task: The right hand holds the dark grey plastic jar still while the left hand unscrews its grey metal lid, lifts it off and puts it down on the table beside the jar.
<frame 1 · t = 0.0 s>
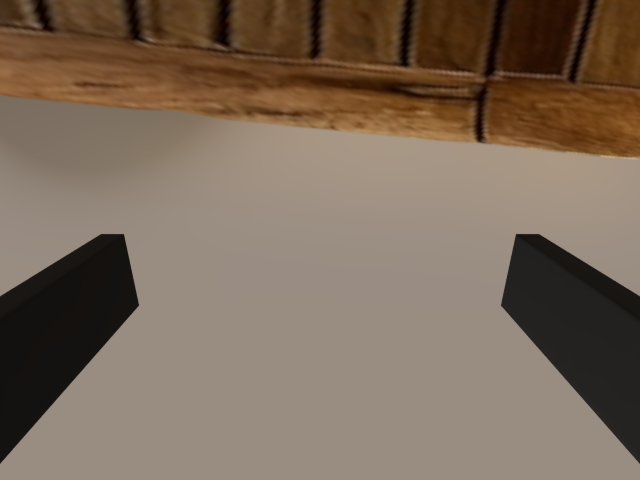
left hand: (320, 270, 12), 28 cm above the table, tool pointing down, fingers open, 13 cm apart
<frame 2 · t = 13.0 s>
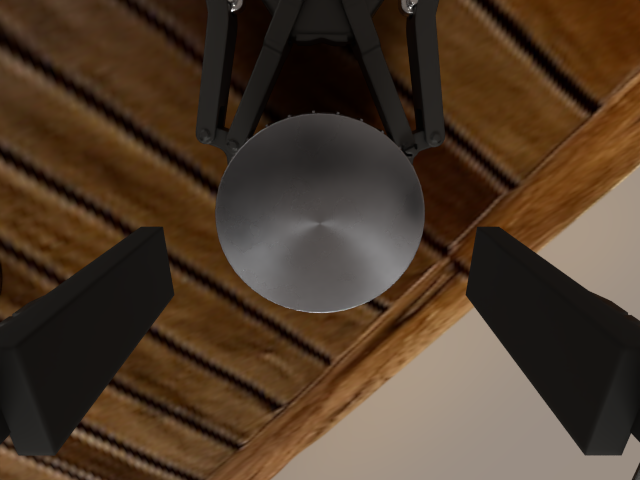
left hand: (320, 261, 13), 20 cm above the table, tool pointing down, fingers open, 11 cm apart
lid: (320, 221, 17), point 16 cm above the table, screwed on, not yet turned
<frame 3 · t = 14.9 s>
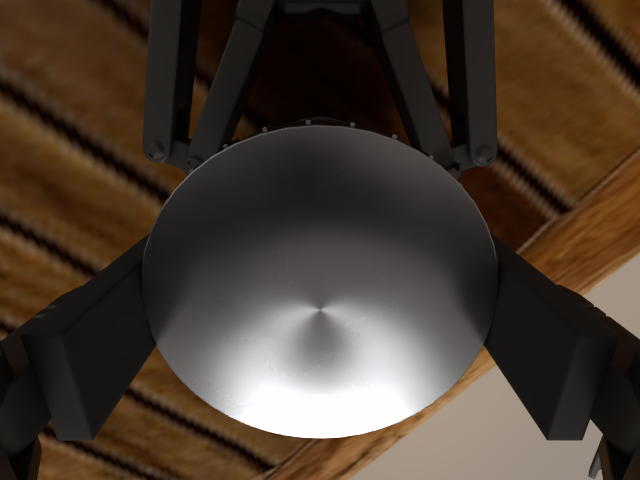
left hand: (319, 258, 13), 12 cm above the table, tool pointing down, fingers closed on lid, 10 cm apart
lid: (319, 303, 10), point 16 cm above the table, screwed on, not yet turned, touching left hand
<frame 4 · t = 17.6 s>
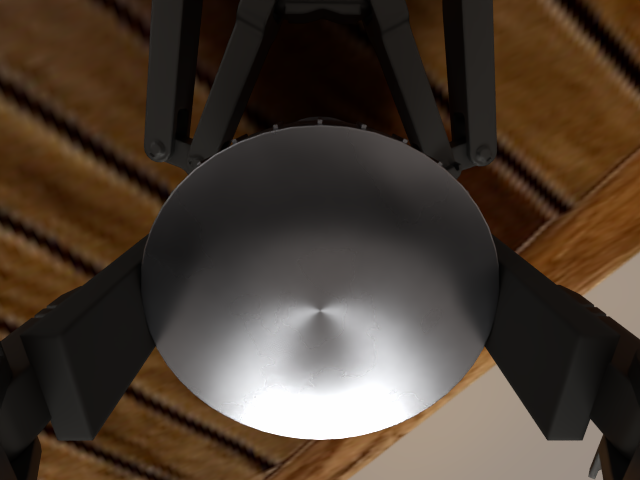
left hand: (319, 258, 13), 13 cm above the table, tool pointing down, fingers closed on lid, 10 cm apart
lid: (320, 304, 10), point 16 cm above the table, turned 59° so far, risen 0.1 cm, still on its thread, touching left hand
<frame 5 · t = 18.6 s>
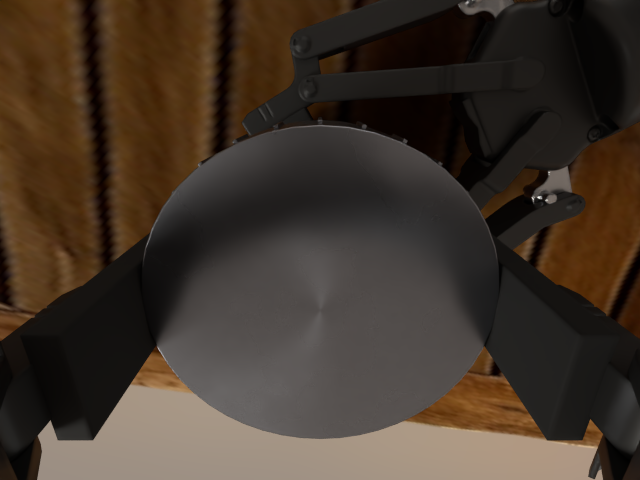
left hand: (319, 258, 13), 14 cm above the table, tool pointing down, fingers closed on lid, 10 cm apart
right hand: (255, 246, 21), fingers closed on jar, 9 cm apart
lid: (320, 303, 10), point 17 cm above the table, off its thread, touching left hand
when the left hand's fingers open (0 cm above the table, at t = 23.5 s): lid drops 2 cm, point 2 cm above the table.
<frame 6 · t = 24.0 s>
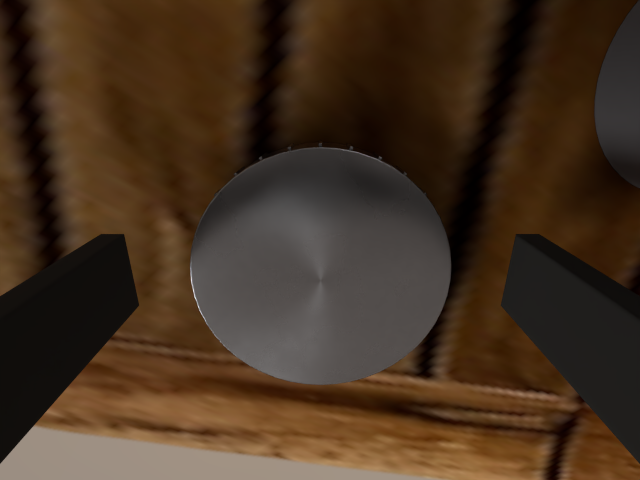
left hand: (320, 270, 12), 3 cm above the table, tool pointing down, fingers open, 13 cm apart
lid: (320, 276, 14), point 2 cm above the table, off its thread
when the right hand's fingers open (7 cm above the table, at t = 24.5 s): jar stays where it is, on the table.
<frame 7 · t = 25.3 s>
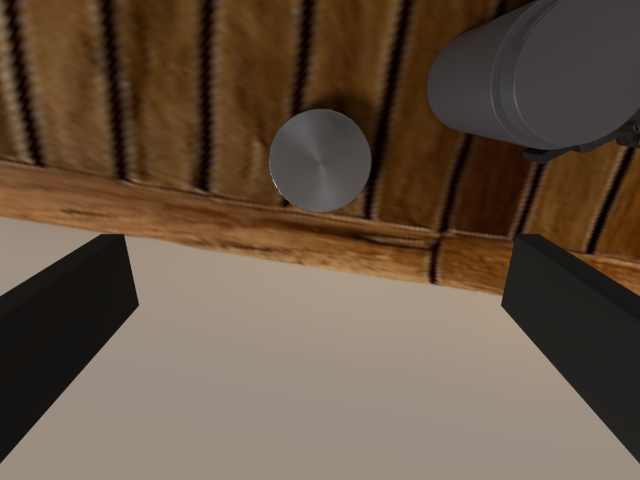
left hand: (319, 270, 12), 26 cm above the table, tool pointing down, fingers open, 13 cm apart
jar: (473, 83, 34), on the table
lid: (320, 162, 35), point 2 cm above the table, off its thread
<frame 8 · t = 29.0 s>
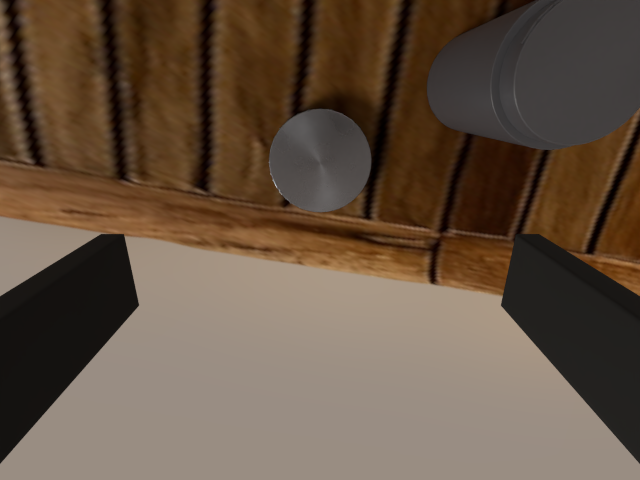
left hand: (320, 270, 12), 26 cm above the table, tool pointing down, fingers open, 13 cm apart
jar: (473, 83, 34), on the table
lid: (320, 162, 35), point 2 cm above the table, off its thread
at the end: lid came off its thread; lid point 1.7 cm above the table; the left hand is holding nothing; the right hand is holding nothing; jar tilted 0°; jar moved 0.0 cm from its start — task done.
